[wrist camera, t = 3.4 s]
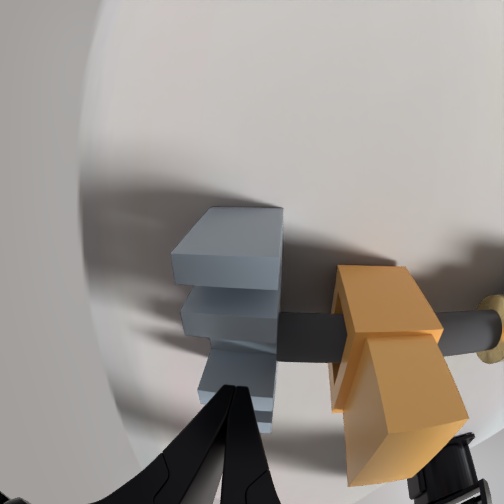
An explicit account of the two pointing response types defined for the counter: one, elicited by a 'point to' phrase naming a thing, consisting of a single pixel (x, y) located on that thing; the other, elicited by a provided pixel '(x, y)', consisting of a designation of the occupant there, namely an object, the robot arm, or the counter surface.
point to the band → (500, 352)
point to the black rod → (335, 334)
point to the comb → (235, 299)
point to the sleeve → (390, 376)
